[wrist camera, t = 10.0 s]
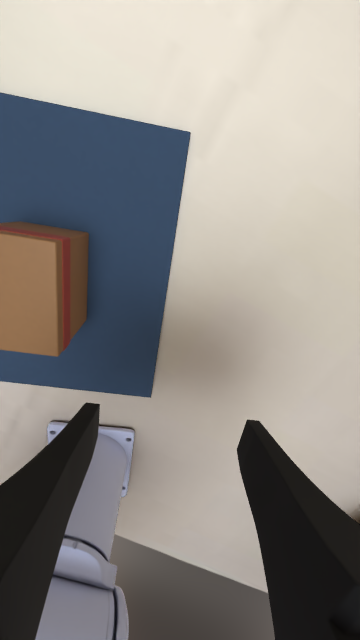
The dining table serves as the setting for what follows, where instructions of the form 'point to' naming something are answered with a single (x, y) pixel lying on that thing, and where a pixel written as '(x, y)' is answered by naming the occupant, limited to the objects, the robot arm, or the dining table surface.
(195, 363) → the dining table surface
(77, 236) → the packet
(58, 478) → the robot arm
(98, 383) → the napkin
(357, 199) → the dining table surface
